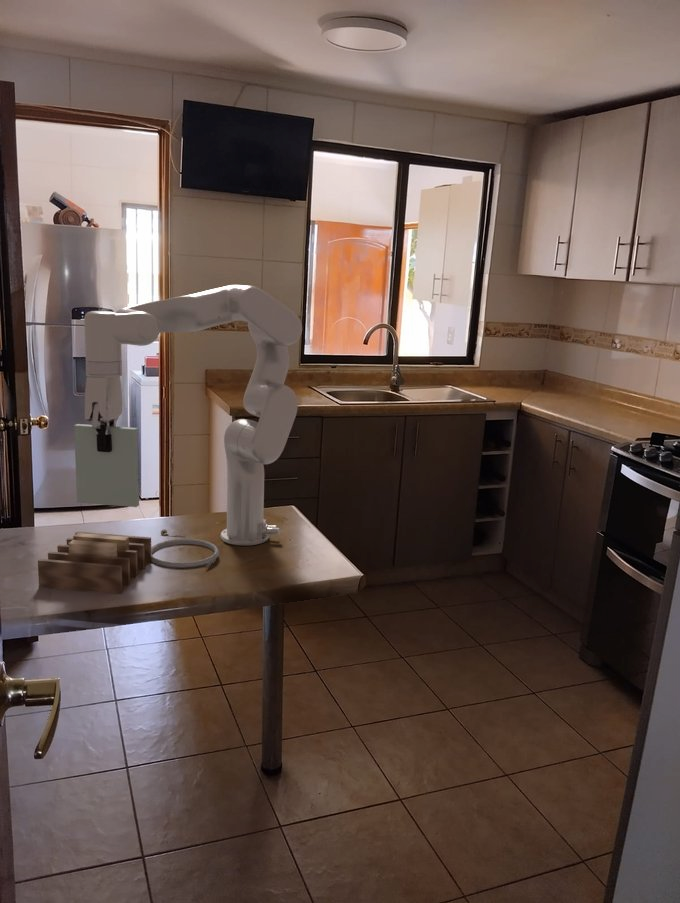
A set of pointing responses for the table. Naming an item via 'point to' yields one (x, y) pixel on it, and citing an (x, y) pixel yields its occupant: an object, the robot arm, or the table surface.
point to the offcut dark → (104, 539)
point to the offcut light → (93, 548)
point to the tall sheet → (107, 467)
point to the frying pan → (184, 541)
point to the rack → (95, 567)
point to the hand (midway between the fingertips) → (106, 450)
